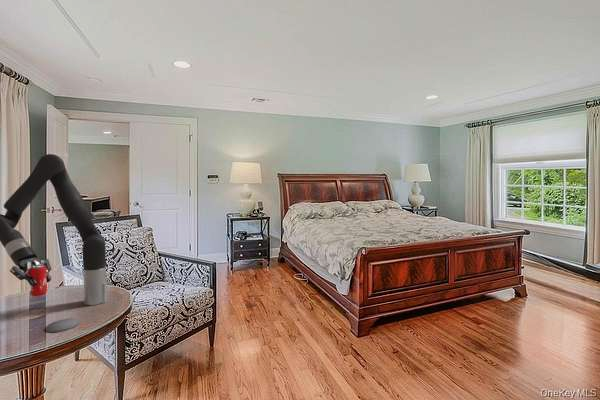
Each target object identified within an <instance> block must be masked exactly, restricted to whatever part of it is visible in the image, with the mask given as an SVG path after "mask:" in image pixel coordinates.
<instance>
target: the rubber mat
mask: <svg viewBox="0 0 600 400" xmlns="http://www.w3.org/2000/svg"><path fill="white" fill-rule="evenodd" d="M79 325H80V320H79V319H78V318H63V319H59V320H56V321H54V322H51V323H49V324H48V325H46V327H45V330H46V332H48V333H60V332H66V331H69V330H72V329H74V328H76V327H78V326H79Z"/></svg>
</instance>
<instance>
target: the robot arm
mask: <svg viewBox="0 0 600 400" xmlns="http://www.w3.org/2000/svg"><path fill="white" fill-rule="evenodd" d="M30 173H31V174H30V175H29V176H28V177H27V178H26V179H25V181H24V182H23V183H22V184H21V185H20V186H19V187H18V188H17V189H16V190H15V191H14V193H13V194H11V195H10V197H9V198H8V199H7V200H6V201H5V202H4V204H3V208H4V209H5V210H6V212H5V214H1V213H0V243H1V245H2V246H3V248H4V249H5V251H6V252H5V253H7V255H8V256H9V258H10V259H11V261H12V262H13V263H14V265H13V266H12V267H11V268H10V269H9V272H10V273H11V274H12V275H13V276H15V277H16V278H17V279H18V280H20V281H23V280H26V281H27V282H28V284H29V285H31V286H36V284H37V282H36V280H35V279H34V278H32V276H31V274H30V269H31V267H32V266H35V265H45V266H46V274H47V283H50V282H51V281H52V276H51V275H50V272H51V270H52V266H51V263H50V261H49V260H50V259H48V258H45V259H44V260H41V259H40V258H39V257H38V255H37V253H36V252H35V250H34V249H33V248H32V245H30V244H29V242H28V241H27V240H26V238H24V235H22V234H21V232H20V231H18V229H15V228H16V227H17V225H18V224H19V222H20V219H21V217H22V215H23V213H24V212H25V210H26V209H27V208H28V206H30V204H31V203H32V202H33V200H34V199H35V198H36V197H37V195H38V193H39V192H40V191H41V189H42V188H43V187H44V185H45V184H46V183H48V181H50V183H51V185H52V187H53V188H54V192H55V195H56V198H57V201H58V203H59V205H60V208H61V210H62V212H64V215H65V216H66V217H67V219H68V221H70V224H72V225H73V226H74V227H75V229H76V230H77V232H78V233H79V235H80V238H81V240H82V241H81V242H82V265H83V300H84V305H85V306H94V305H95V306H96V305H101V304H104V303H105V304H106V302H107V300H108V280H107V268H106V265H107V263H106V262H107V259H106V258H107V257H106V256H107V255H106V245H107V244H106V240H105V238H104V237H103V236H102V234H101V233H100V231H99V229H98V228H97V227H96V225H95V222H94V221H93V218H92V215H91V213H90V210H89V209H88V208H89V207H87V204H86V202H85V200H84V198H83V196H82V195H81V193H80V191H79V190H78V189H77V188H76V186H75V185H74V184H73V182H72V180H71V178H70V176H69V173H68V171H67V167H66V164H65V162H64V160H63V159H62V158H61V156H58V155H56V154H54V153H52V154H51V153H48V154H47V153H46V154H44V155H42V156H41V157H40V158H39V159H38V161H37V164H36V165H35V167H34V169H33V170H32V172H30Z"/></svg>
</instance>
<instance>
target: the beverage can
mask: <svg viewBox="0 0 600 400" xmlns="http://www.w3.org/2000/svg"><path fill="white" fill-rule="evenodd" d="M30 274H31V276H32V278H34V279H35V280H36V282H37V284H36V286H31V285H30V284H29V285H30V295H31V297H35V298H36V297H41V296H45V295H47V291H48V282H47V274H46V266H45V265H42V264H41V265H35V266H32V267H31V269H30Z"/></svg>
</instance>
